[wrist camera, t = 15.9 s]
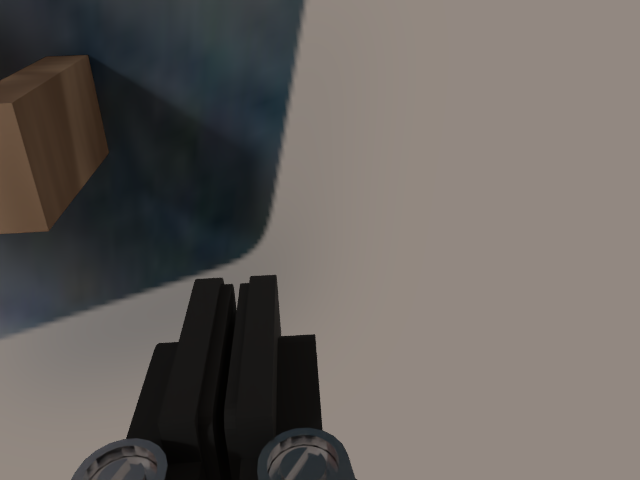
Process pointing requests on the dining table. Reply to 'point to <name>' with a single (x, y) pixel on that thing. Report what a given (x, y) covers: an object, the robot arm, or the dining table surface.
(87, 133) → the end domino
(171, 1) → the dining table surface
